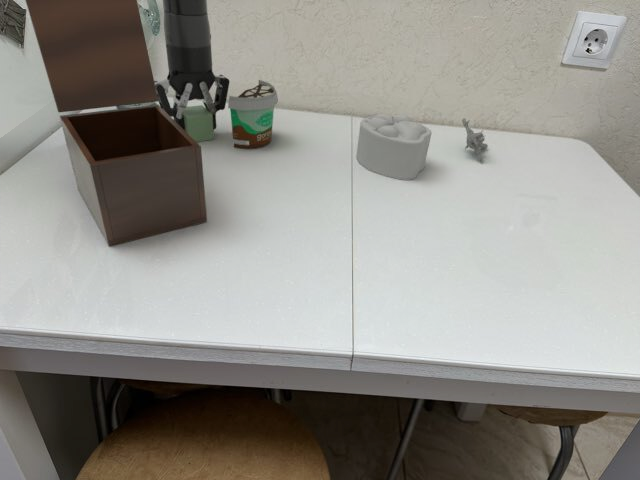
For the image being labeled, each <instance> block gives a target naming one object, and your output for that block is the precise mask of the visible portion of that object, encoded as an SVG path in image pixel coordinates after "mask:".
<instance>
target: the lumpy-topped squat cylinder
mask: <svg viewBox="0 0 640 480" xmlns="http://www.w3.org/2000/svg"><path fill="white" fill-rule="evenodd" d="M359 124H360V125H359V130H358V131H359V132H358V138H357V139H358V140H357V147H356V154H355V158H356V161H357V163H358V164H359V165H361V166H362V167H363V168H365V169H366V170H368V171H370V172H373V173H375V174H378V175H381V176H385V177H389V178H391V179H392V178H393V179H396V180H401V181H412V180H414V179H416V178H417V177H418V175H419V173H420V172H421V171H423V170H424V169H425V166H426V162H427V157H428V152H429V147H430V142H431V137H432V130H431V129H430V128H429V127H427V126H425V125H423V124H422V123H420V122H417V121H412V118H411V117H410V116H409V115H408V114H405V113H400V114H396V115H394V116H393V115H390V114H388V113H379V114H377V115H375V116H367V117H364V118H363V119H362V120H361V121H360V123H359Z"/></svg>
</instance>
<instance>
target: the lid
mask: <svg viewBox="0 0 640 480" xmlns="http://www.w3.org/2000/svg"><path fill="white" fill-rule="evenodd" d="M25 4H26V7H27V10H28V14H29V16H30V21H31V24H32V28H33V32H34V34H35V38H36V41H37V45H38V49H39V52H40V55H41V59H42V63H43V65H44V70H45V72H46V76H47V79H48V83H49V86H50V90H51V93H52V97H53V99H54V103H55V107H56V111H57V113H67V112H76V111H83V110H84V111H85V110H86V111H87V110H93V109H95V110H96V109H102V108H103V109H104V108H111V107H112V108H113V107H120V106H121V107H122V106H130V105H139V104H147V103H159V102H158V97H157V92H156V88H155V83H154V81H155V79H154V75H153V70H152V64H151V61H150V56H149V55H150V54H149V51H148V46H147V42H146V37H145V32H144V28H143V27H144V26H143V23H142V18H141V13H140V9H139V8H140V7H139V4H138V0H25Z"/></svg>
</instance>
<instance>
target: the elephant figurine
mask: <svg viewBox="0 0 640 480" xmlns="http://www.w3.org/2000/svg"><path fill="white" fill-rule="evenodd" d="M461 122H462V125H463V127H464V128H465V132H466V145H465V147H464V150H467V149H468V148H470V149H472V150H474V153H475V154H476V156H477V160H478V161H479V163H484V161H485V160H484V159H483V158H485V157H486V156H485V155H482V154H481V152H480V149H482V150H486V149H487V148H489V144H488V143H484V142H485V141H486V135H484V133H483V132H484V129H482V130H481V131H479V132H474V131H473V129H472V128H471V127H469V123H470V120H469V119H468V120H467V119H466V118H465V117H464V118H462V119H461Z"/></svg>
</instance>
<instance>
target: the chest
mask: <svg viewBox="0 0 640 480" xmlns="http://www.w3.org/2000/svg"><path fill="white" fill-rule="evenodd" d="M59 120H60V123H61V127H62V131H63V136H64V140H65V143H66V147H67V151H68V155H69V159H70V164H71V167H72V170H73V175H74V178H75V179H74V180H75V182H76V186H77V190H78V192H79V194H80V196H81V198H82V200H83V201H84V204H85V205H86V207H87V209H88V211H89V213H90V214H91V217H92V218H93V220H94V222H95V224H96V226H97V228H98V229H99V232H100V233H101V235H102V237H103V238H104V240H105V242H106V244H107V246H108V247H112V246H115V245H119V244H124V243H128V242H131V241H137V240H139V239H143V238H144V239H145V238H148V237H152V236H155V235H156V236H157V235H160V234H164V233H168V232H172V231H177V230H179V229H184V228H188V227H192V226H196V225H200V224H204V223H208V216H207V204H206V192H205V191H206V190H205V181H204V180H205V179H204V166H203V156H202V155H203V154H202V153H203V152H202V146H201V145H200V144H199V142H196V141H195V140H194V139H193V138H192V137H191V136H190V135H189V134H188V133H187V132H186V131H185V130H183V129H182V128H181V127H180V126H179V125H178V124H177V123H176V122H175V121H174V118H173V117H170V116H169V115H168V114H167V113H166V112H165V111H164V110H163V109H162V108H161V107H160V104H150V105H141V106H133V107H124V108H116V109H108V110H107V109H106V110H99V111H89V112H82V113H81V112H79V113H72V114H62V115H59Z"/></svg>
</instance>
